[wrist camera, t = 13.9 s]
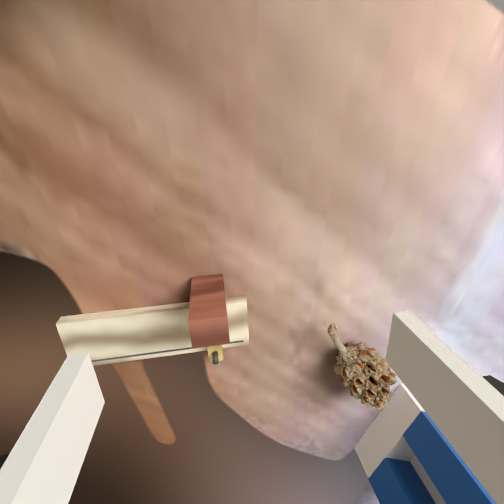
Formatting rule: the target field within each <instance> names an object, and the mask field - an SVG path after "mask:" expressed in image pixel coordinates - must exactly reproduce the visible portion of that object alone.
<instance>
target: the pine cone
mask: <svg viewBox="0 0 504 504" xmlns="http://www.w3.org/2000/svg"><path fill="white" fill-rule="evenodd" d="M336 329H337V326H336V324H335V322H333V323H332V324H331V325H330V326H329V328H328V333H329V335H330V336H331V339H332V340H333V342H334V345H335V346H336V348H337V349H338V350H339V353H338V354H339V356H336V360H337V363H336V364H335V365H334V370H335V372H334V373H336V374H337V375H341V383H342V384H343V386H344V388H350V395H351V396H354V398H355V399H359V398H360V399H361V403H362V404H365V405H366V407H367V408H371V407H372V406H375V407H376V408H377V409H379V410H381V408H387V406H388V402H389V401H391V398H390V394H391V391H390V389H389V387H390V385H392V384H395V383H396V382H397V380H396V378H395V377H396V374H394V373H393V372H391V371H390V367H391V366H390V365H389V364H388V363H387V361H386V359H384V358H380V352H378V351H376V350H375V349H374V348H367V345H366V343H361V342H358V343H357V344H354V345H352V344H351V343H350V344H347V345H346V346H344V345H343V344H342V343H341V341H340V339H339V337H338V336H337V333H336Z"/></svg>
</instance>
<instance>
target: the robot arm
mask: <svg viewBox="0 0 504 504" xmlns="http://www.w3.org/2000/svg"><path fill="white" fill-rule="evenodd" d="M386 361H387V363H388V364H389V365H390V366H391V368H392V369H393V370H394V372H395V373H396V374H397V375H398V377H399V378H400V379H401V381H402V382H403V383H404V385H405V386H406V387H407V388H408V390H409V391H410V392H411V394H412V395H413V396H414V398H415V399H416V400H417V401H418V403H419V404H420V405H421V407H422V408H423V409H424V410H425V412H426V413H427V414H428V416H429V417H430V418H431V420H432V421H433V422H434V423H435V425H436V426H437V427H438V429H439V430H440V431H441V433H442V434H443V435H444V436H445V438H446V439H447V440H448V442H449V443H450V444H451V445H452V447H453V448H454V449H455V451H456V452H457V453H458V455H459V456H460V457H461V458H462V460H463V461H464V462H465V464H466V465H467V466H468V468H469V469H470V470H471V471H472V473H473V474H474V475H475V477H476V478H477V479H478V480H479V482H480V483H481V484H482V486H483V487H484V488H485V490H486V491H487V492H488V493H489V495H490V496H491V497H492V499H493V500H494V501H495V503H496V504H504V383H503V382H501V381H499V380H497V379H495V378H494V377H492V376H490V375H489V376H483V377H482V376H481V375H480V374H479V373H477V372H476V371H475V370H474V369H473V368H472V367H471V366H470V365H469V364H468V363H466V362H465V361H464V360H463V359H462V358H461V357H460V356H459V355H458V354H457V353H455V352H454V351H453V350H452V349H451V348H450V347H449V346H448V345H447V344H445V343H444V342H443V341H442V340H441V339H440V338H439V337H438V336H437V335H436V334H434V333H433V332H432V331H431V330H430V329H429V328H428V327H427V326H426V325H424V324H423V323H422V322H421V321H420V320H419V319H418V318H417V317H416V316H415V315H413V314H412V313H411V312H410V311H402V312H394V313H393V318H392V324H391V330H390V336H389V343H388V349H387V355H386ZM104 403H105V401H104V398H103V395H102V392H101V389H100V387H99V383H98V380H97V377H96V374H95V371H94V368H93V365H92V362H91V359H90V356H89V353H88V352H87V353H80V354H72V355H68V356H67V358H66V360H65V361H64V363H63V365H62V366H61V368H60V370H59V372H58V373H57V375H56V377H55V378H54V380H53V382H52V383H51V385H50V387H49V388H48V390H47V392H46V394H45V395H44V397H43V398H42V400H41V402H40V404H39V405H38V407H37V409H36V410H35V412H34V414H33V415H32V417H31V419H30V421H29V422H28V424H27V425H26V427H25V429H24V431H23V432H22V434H21V436H20V437H19V439H18V441H17V442H16V444H15V446H14V447H13V449H12V451H11V453H10V454H7V455H1V456H0V504H68V502H69V500H70V496H71V494H72V491H73V488H74V486H75V483H76V480H77V477H78V475H79V472H80V469H81V466H82V463H83V461H84V458H85V455H86V452H87V449H88V447H89V444H90V441H91V439H92V436H93V433H94V430H95V427H96V425H97V422H98V419H99V416H100V414H101V411H102V408H103V405H104Z"/></svg>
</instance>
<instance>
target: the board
mask: <svg viewBox="0 0 504 504" xmlns="http://www.w3.org/2000/svg"><path fill="white" fill-rule="evenodd" d="M225 300H226V308H227V317H228V327H229V338H230V344H223V345H222V348H228V347H235V346H243V345H249V333H248V317H247V302H246V297H245V295H244V296H236V297H227V298H225ZM189 303H190V302H184V303H175V304H167V305H158V306H150V307H141V308H132V309H124V310H115V311H107V312H98V313H90V314H81V315H73V316H64V317H61V318H60V319H59V320H58V322H57V323H56V326H57V330H58V332H59V335H60V338H61V340H62V343H63V346H64V349H65V351H66V354H67V356H68V355H72V354H80V353H87V352H88V353H89V356H90V359H91V362H92V365H93V366H95V365H102V364H110V363H117V362H124V361H132V360H139V359H146V358H154V357H161V356H167V355H176V354H184V353H190V352H198V351H206V350H207V347H201V348H193V349H192V343H191V337H190V330H189V324H188V315H189Z"/></svg>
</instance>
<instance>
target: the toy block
mask: <svg viewBox="0 0 504 504" xmlns="http://www.w3.org/2000/svg"><path fill="white" fill-rule="evenodd" d="M390 398H391V401H389V402H388V406H387V408H382V410H381V411H380V413H379V414H378V415H377V417H376V418H375V419H374V421H373V422H372V424H371V425H370V426H369V428H368V429H367V431H366V432H365V433H364V435H363V436H362V437H361V439H360V440H359V442H358V443H357V444H356V446H355V447H354V449H355V451H356V453H357V455H358V457H359V459H360V462H361V464H362V466H363V468H364V470H365V472H366V475H367V476H368V479H369V481H370V483H371V485H372V488H373V490H374V492H375V494H376V496H377V498H378V500H379V503H380V504H496V503H495V501H494V500H493V499H492V497H491V496H490V495H489V493H488V492H487V491H486V490H485V488H484V487H483V486H482V484H481V483H480V482H479V480H478V479H477V478H476V477H475V475H474V474H473V473H472V471H471V470H470V469H469V468H468V466H467V465H466V464H465V462H464V461H463V460H462V458H461V457H460V456H459V455H458V453H457V452H456V451H455V449H454V448H453V447H452V445H451V444H450V443H449V442H448V440H447V439H446V438H445V436H444V435H443V434H442V433H441V431H440V430H439V429H438V427H437V426H436V425H435V423H434V422H433V421H432V420H431V418H430V417H429V416H428V414H427V413H426V412H425V410H424V409H423V408H422V407H421V405H420V404H419V403H418V401H417V400H416V399H415V398H414V396H413V395H412V394H411V392H410V391H409V390H408V388H407V387H406V386H405V385H404V384H400V385H399V386H398V388H397V389H396V390H395V392H394V393H393V395H392V396H391V397H390Z"/></svg>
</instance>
